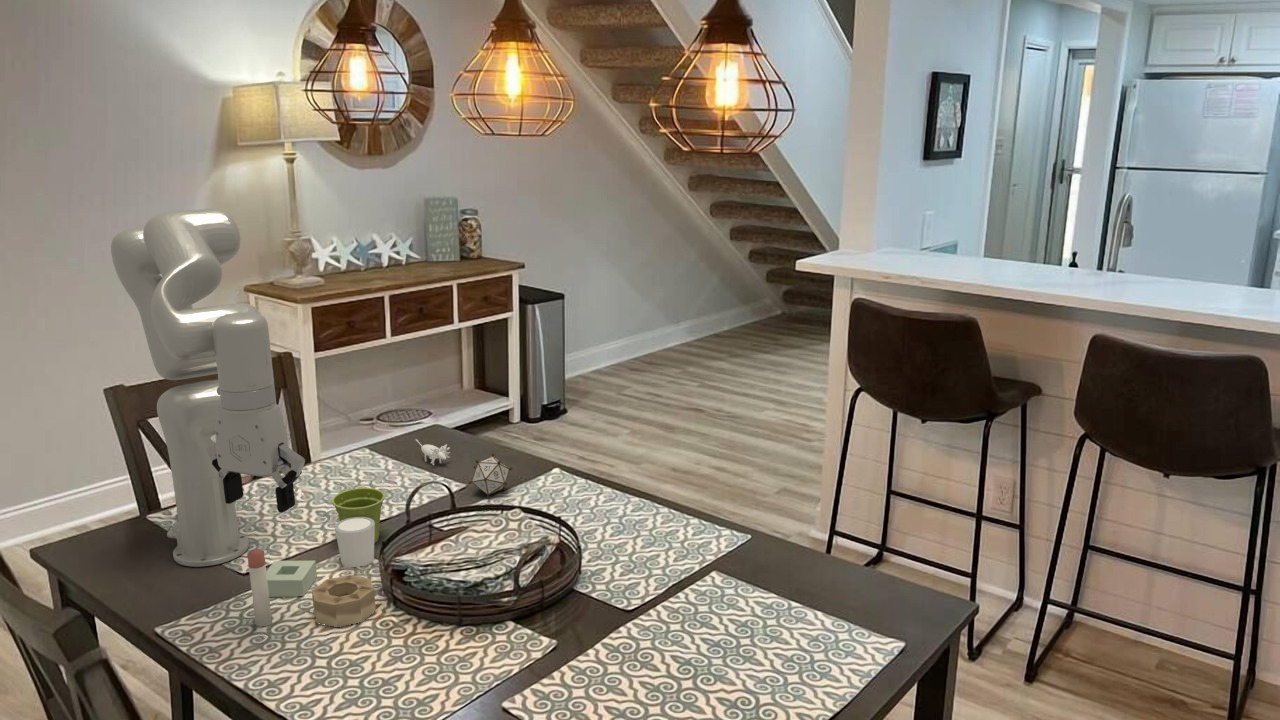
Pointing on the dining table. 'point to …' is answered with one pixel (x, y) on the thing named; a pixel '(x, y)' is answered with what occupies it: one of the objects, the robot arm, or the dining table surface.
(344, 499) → the plant pot
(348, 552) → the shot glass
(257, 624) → the red-capped white cylinder
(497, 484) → the game die
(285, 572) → the green square-hole block
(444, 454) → the white triceratops figurine
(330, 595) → the bead
